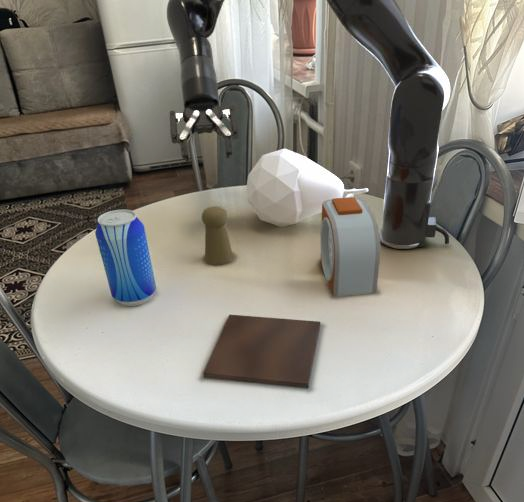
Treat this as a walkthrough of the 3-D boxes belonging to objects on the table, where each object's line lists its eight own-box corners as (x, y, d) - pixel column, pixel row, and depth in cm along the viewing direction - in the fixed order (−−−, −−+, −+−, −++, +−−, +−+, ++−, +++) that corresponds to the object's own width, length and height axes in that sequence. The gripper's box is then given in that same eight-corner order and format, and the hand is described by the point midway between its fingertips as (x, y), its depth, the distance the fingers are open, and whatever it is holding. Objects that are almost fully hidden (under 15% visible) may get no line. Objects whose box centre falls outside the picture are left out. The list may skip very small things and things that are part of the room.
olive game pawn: (229, 265, 104) (224, 215, 97) (201, 264, 105) (194, 214, 98) (236, 252, 109) (232, 203, 102) (209, 251, 110) (203, 202, 103)
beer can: (116, 286, 99) (96, 209, 89) (159, 283, 100) (143, 205, 90) (109, 310, 93) (87, 228, 83) (155, 306, 93) (138, 225, 83)
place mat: (320, 326, 86) (320, 321, 85) (308, 388, 73) (308, 383, 73) (229, 319, 89) (229, 314, 88) (203, 377, 76) (202, 372, 76)
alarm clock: (317, 259, 105) (319, 196, 96) (357, 256, 105) (362, 192, 97) (331, 296, 93) (334, 228, 85) (376, 292, 93) (384, 224, 85)
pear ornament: (240, 136, 108) (373, 140, 102) (262, 170, 130) (371, 174, 124) (233, 213, 109) (364, 221, 103) (255, 234, 131) (364, 241, 125)
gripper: (163, 76, 102) (171, 151, 100) (233, 72, 103) (242, 145, 101) (168, 99, 110) (175, 169, 108) (232, 95, 111) (241, 164, 109)
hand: (207, 157), depth 104 cm, fingers open, 8 cm apart
